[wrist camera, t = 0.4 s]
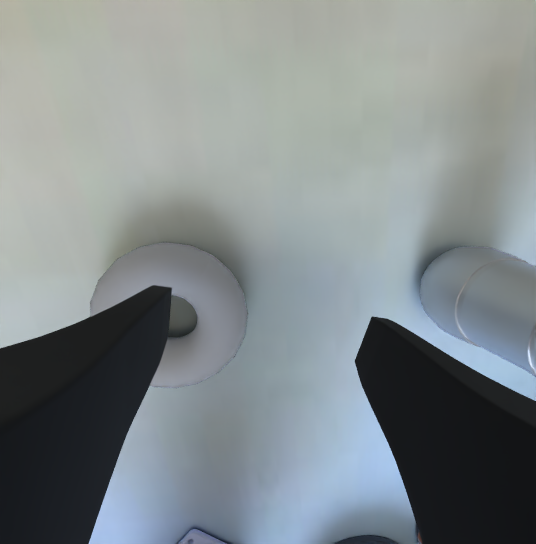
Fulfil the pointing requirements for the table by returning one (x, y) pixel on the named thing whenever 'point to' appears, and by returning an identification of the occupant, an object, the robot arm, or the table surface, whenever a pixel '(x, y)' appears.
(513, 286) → the silver bottle
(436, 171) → the table surface
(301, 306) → the table surface
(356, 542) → the pot
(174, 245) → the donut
